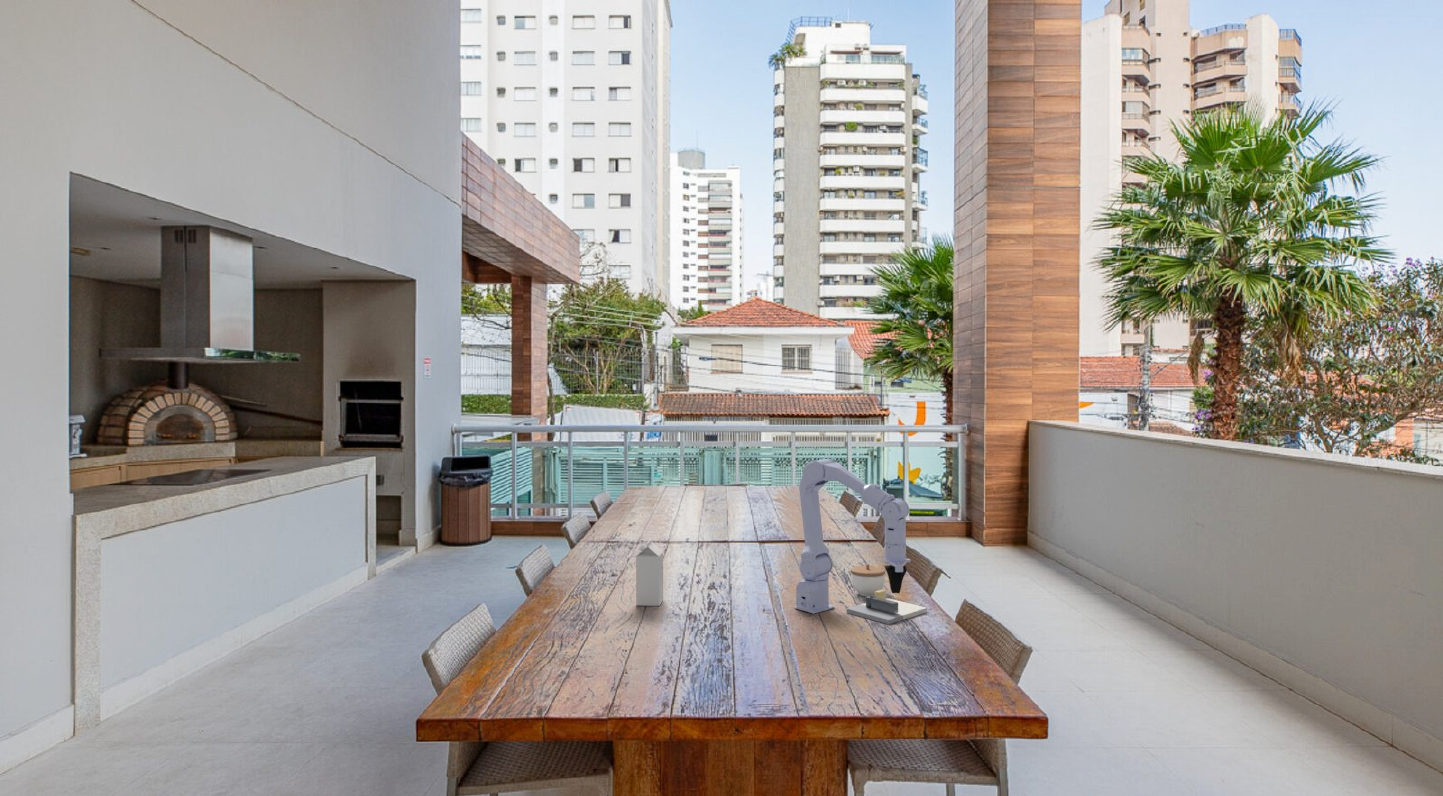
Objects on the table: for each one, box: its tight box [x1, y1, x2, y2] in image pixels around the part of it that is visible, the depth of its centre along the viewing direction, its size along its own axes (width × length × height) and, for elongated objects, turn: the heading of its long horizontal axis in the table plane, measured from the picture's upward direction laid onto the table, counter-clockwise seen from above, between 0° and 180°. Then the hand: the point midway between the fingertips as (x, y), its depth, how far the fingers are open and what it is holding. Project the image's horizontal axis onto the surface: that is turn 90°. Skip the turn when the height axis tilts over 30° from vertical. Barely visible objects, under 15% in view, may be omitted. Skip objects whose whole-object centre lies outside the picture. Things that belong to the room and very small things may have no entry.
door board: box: [846, 589, 928, 625], centre depth 221 cm, size 18×15×4 cm
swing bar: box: [865, 596, 898, 614], centre depth 219 cm, size 10×3×3 cm, turn 40°
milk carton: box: [635, 538, 664, 607], centre depth 232 cm, size 7×7×19 cm
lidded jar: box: [850, 563, 886, 597], centre depth 242 cm, size 11×11×9 cm
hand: (895, 592), depth 210 cm, fingers closed
